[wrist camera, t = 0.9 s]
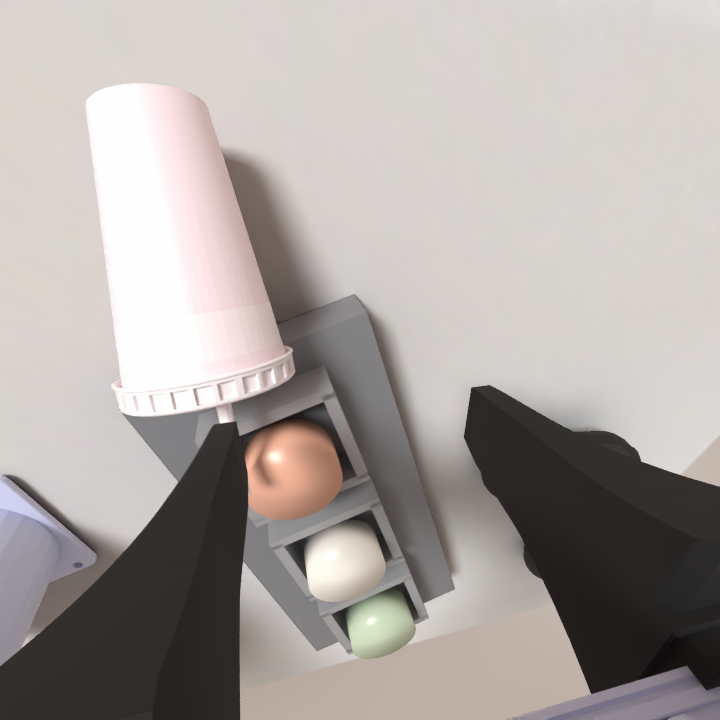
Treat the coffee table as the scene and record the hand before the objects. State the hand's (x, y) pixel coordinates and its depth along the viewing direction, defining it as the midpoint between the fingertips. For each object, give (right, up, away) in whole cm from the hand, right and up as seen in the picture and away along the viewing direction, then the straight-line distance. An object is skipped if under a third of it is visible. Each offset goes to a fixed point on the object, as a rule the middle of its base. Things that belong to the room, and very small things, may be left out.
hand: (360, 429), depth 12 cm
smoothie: (-7, +11, +1) cm, 13 cm away
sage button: (+1, -15, +16) cm, 22 cm away
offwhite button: (-1, -9, +12) cm, 15 cm away
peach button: (-3, -3, +7) cm, 9 cm away
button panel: (-2, -7, +15) cm, 17 cm away
